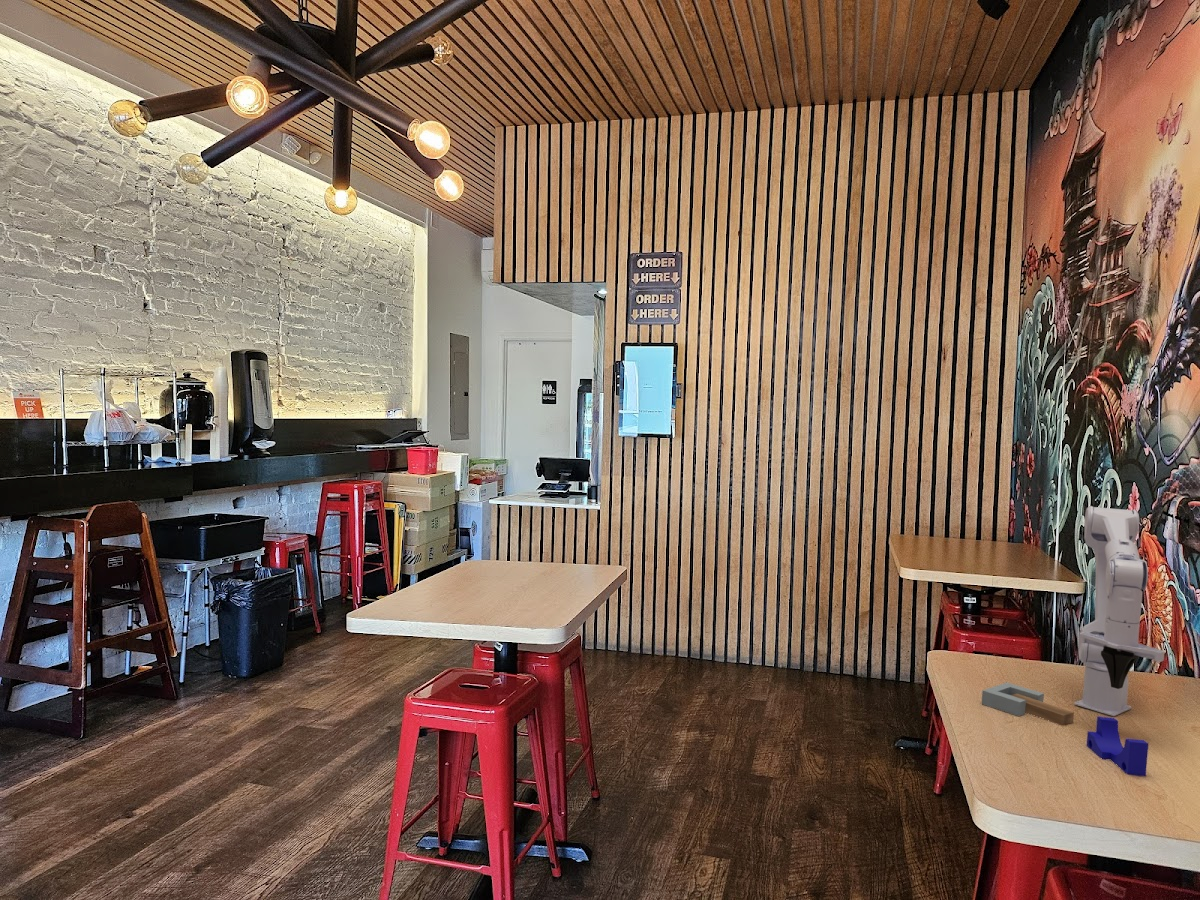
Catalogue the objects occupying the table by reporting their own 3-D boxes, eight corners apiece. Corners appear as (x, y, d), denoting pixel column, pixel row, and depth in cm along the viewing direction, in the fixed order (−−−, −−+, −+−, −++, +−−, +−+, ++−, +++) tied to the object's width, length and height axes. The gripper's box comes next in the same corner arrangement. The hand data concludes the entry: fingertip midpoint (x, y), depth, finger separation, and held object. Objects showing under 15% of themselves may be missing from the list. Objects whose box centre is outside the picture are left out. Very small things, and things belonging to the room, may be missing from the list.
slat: (1016, 704, 177) (1017, 693, 177) (1073, 724, 167) (1074, 712, 166) (1005, 707, 174) (1006, 696, 174) (1062, 727, 164) (1063, 715, 164)
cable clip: (1086, 746, 155) (1088, 715, 154) (1111, 748, 154) (1114, 718, 154) (1118, 774, 143) (1120, 741, 142) (1145, 777, 142) (1148, 743, 142)
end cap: (1005, 695, 181) (1006, 682, 181) (1042, 707, 175) (1043, 693, 175) (981, 704, 175) (982, 690, 175) (1019, 716, 168) (1020, 702, 168)
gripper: (1074, 613, 164) (1069, 679, 164) (1156, 631, 152) (1150, 702, 153) (1089, 609, 168) (1084, 674, 169) (1170, 627, 156) (1164, 696, 157)
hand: (1116, 687), depth 161 cm, fingers closed
